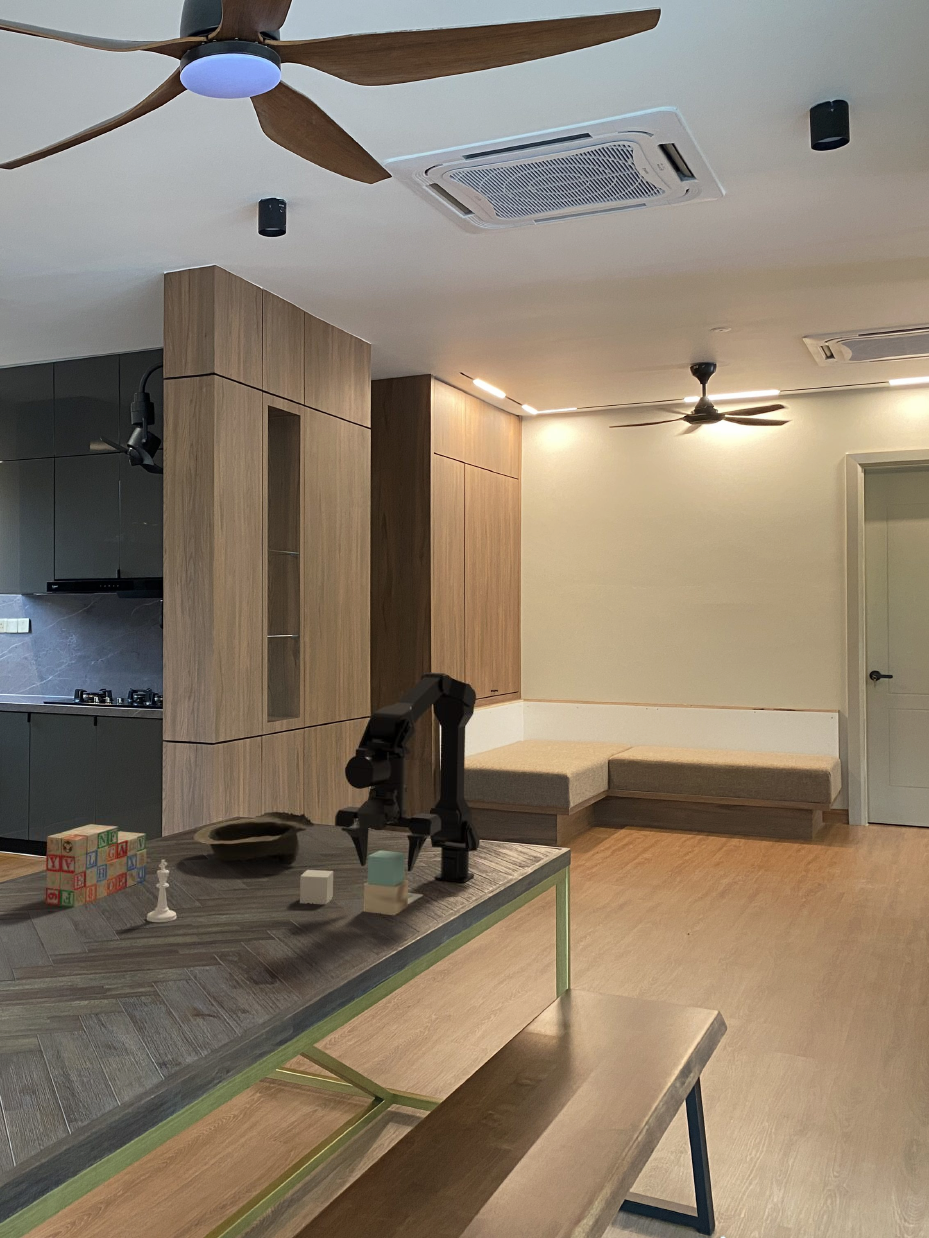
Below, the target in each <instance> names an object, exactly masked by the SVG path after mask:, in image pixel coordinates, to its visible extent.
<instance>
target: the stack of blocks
mask: <svg viewBox="0 0 929 1238" xmlns="http://www.w3.org/2000/svg"><path fill="white" fill-rule="evenodd" d="M45 855H46V856H45V859H46V861H45V874H46V876H45V877H46V879H45V883H46V884H45V904H46V905H52V906H62V907H69V908H77V907H79V906H81V905H85V904H87V903H90V902H93V901H95V900H99V899H101V898H103V897H106V896H108V895H110V894H114V893H115V892H119V891H121V890H123V889H126V888H129V887H131V886H134V885H137V884H140V883H142V882H146V879H147V878H146V876H147V875H146V873H147V834H146V833H140V832H129V831H128V832H127V831H119V826H114V825H100V824H94V823H93V824H91V823H90V824H87V825H83V826H80V827H76V828H71V829H69V830H66V831H63V832H60V833H55V834H52V835H48V836H47V841H46V854H45Z"/></svg>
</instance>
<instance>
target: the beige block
mask: <svg viewBox="0 0 929 1238" xmlns="http://www.w3.org/2000/svg"><path fill="white" fill-rule="evenodd" d="M299 886H300V887H299V888H300V889H299V904H307V903H310V905H312V903H313V905H328V904H329V903H330V901H331V900H332V899H333V898H332V897H334V894H333V893H334V871H333V870H320V869H319V870H314V869H307V870H305V871H304V872H303V873H302V874H301V875H300V885H299ZM327 903H328V904H327Z"/></svg>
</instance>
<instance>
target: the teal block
mask: <svg viewBox="0 0 929 1238" xmlns="http://www.w3.org/2000/svg"><path fill="white" fill-rule="evenodd" d="M405 869H406V853H405V852H397V851H389V850H388V851H387V850H380V849H379V850H378V851H376V852H374V853H372V854H369V855H367V880H366V881H367V882H366V883H367V884H373V885H381V886H389V887H394V886H396V885H397V884H399V883H401V882H403V881H404V880H405V876H406V875H405V872H406V871H405Z"/></svg>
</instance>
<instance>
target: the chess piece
mask: <svg viewBox="0 0 929 1238" xmlns="http://www.w3.org/2000/svg"><path fill="white" fill-rule="evenodd" d="M160 861H161V863H159V864H158V867H159V868H160V870H159V869H158V870H157V871H156V875H157V878H158V880H159V881H158V882H159V883H157V884H156V885H155V887H156V888H158V889H159V892H158V899H157V905H156V907H155V908H154V910H152V911H151V912H149V913H148V914H147V916H146V921H149V922H152V923H168V922H173V921H175V920H176V919H177V913H176V912H175V910H172V909H170V908H169V907H168V904H167V894H166V893H167V892H166V888H168V887H170V885H169V883H167V880H168V876H169V874H170V870H168V869H166V866H168V862H166V859H161V860H160Z"/></svg>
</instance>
